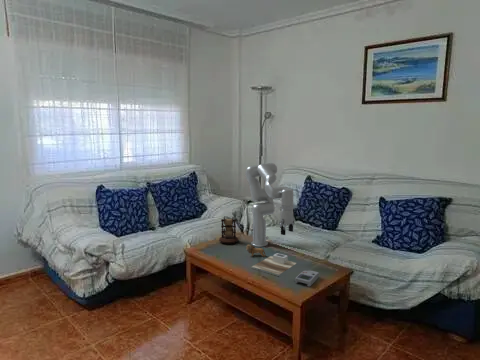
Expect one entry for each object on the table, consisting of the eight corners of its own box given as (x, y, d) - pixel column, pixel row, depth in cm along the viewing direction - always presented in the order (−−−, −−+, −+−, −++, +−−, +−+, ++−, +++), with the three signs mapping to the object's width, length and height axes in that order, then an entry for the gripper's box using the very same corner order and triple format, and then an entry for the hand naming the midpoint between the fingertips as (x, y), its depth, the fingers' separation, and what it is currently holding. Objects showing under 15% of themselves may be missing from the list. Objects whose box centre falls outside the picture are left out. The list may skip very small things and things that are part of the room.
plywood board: (270, 258, 232) (270, 256, 232) (296, 265, 220) (296, 263, 220) (251, 268, 215) (251, 266, 215) (279, 277, 203) (279, 274, 203)
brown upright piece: (239, 239, 272) (239, 214, 269) (237, 245, 258) (237, 219, 255) (220, 238, 274) (220, 214, 271) (217, 244, 259) (217, 219, 256)
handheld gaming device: (319, 278, 202) (319, 271, 202) (309, 287, 190) (309, 281, 189) (304, 274, 207) (304, 268, 206) (294, 284, 195) (294, 277, 194)
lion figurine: (245, 258, 232) (245, 245, 230) (246, 255, 237) (246, 243, 236) (267, 259, 231) (267, 246, 229) (267, 256, 236) (267, 243, 235)
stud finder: (276, 258, 227) (277, 252, 226) (287, 261, 222) (287, 255, 222) (272, 261, 223) (273, 254, 223) (283, 264, 218) (283, 257, 218)
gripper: (289, 204, 233) (288, 228, 236) (275, 209, 220) (275, 235, 222) (298, 206, 228) (298, 230, 231) (285, 211, 215) (285, 237, 218)
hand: (287, 232), depth 227 cm, fingers open, 9 cm apart
